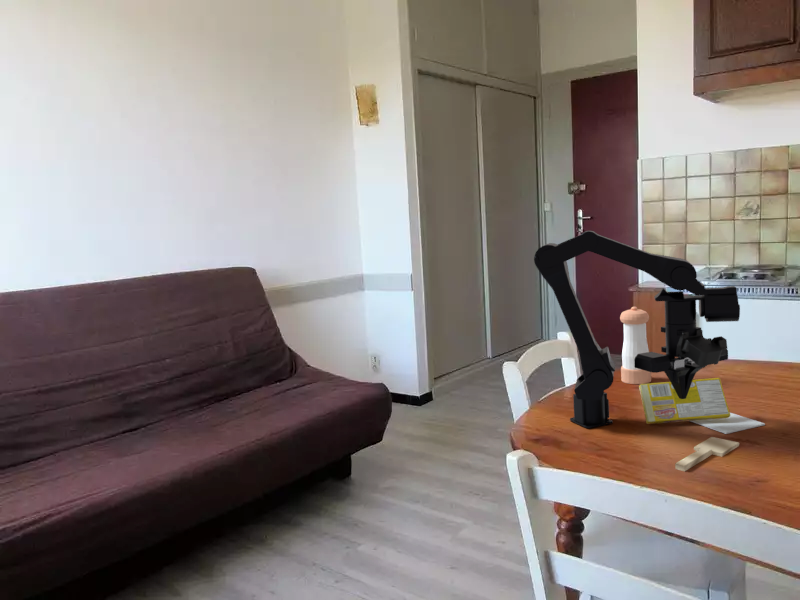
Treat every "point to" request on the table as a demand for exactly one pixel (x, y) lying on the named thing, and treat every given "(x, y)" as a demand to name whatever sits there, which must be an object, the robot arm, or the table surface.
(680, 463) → the wooden turner
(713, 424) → the felt mat
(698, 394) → the candy box
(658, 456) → the table surface
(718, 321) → the robot arm
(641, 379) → the pepper shaker
